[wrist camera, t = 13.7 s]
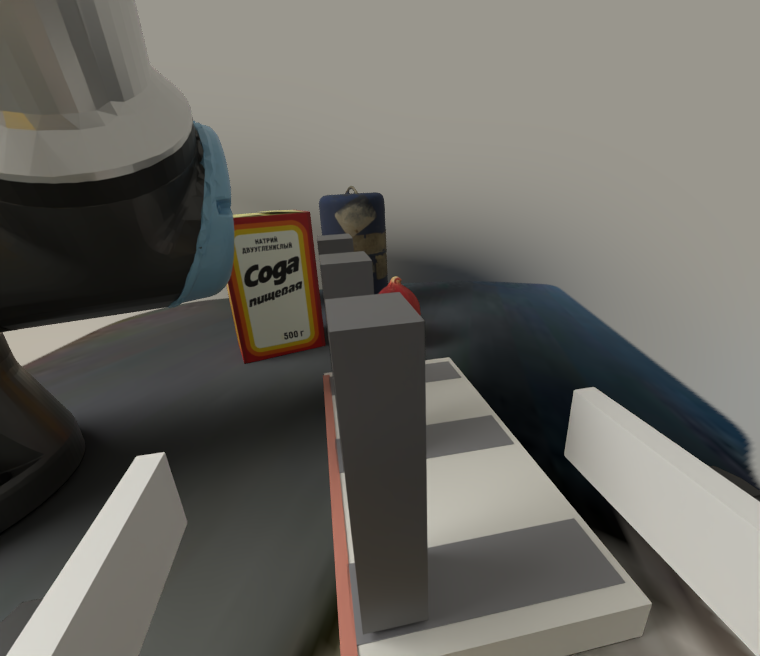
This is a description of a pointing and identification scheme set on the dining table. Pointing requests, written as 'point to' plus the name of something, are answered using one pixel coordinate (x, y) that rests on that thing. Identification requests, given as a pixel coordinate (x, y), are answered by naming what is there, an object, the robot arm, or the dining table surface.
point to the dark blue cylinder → (359, 227)
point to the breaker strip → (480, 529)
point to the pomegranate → (402, 292)
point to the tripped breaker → (383, 451)
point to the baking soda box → (275, 285)
